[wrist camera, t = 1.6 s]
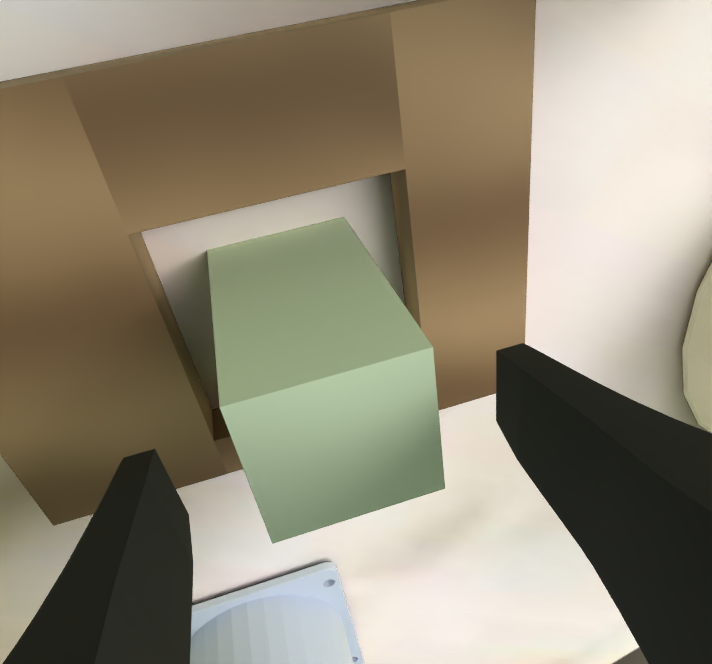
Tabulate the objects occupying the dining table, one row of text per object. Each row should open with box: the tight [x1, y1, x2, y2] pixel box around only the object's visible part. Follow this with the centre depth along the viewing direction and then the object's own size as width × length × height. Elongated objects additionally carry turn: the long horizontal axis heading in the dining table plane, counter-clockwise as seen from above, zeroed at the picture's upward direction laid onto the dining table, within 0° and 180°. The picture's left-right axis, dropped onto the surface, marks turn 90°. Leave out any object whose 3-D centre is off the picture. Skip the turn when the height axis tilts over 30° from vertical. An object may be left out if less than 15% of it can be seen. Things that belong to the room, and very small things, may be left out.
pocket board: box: [0, 0, 536, 526], centre depth 15 cm, size 12×16×2 cm
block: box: [207, 217, 445, 544], centre depth 14 cm, size 4×4×7 cm
